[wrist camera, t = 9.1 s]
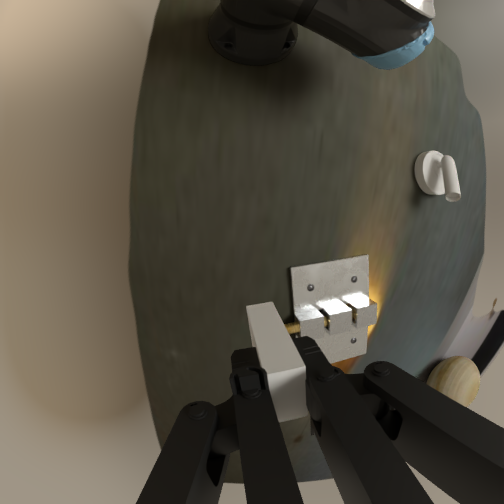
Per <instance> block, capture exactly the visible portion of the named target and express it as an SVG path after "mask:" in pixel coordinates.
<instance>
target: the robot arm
mask: <svg viewBox="0 0 504 504" xmlns="http://www.w3.org/2000/svg"><path fill="white" fill-rule="evenodd" d="M433 2H434V0H221V3H220V4H219V6H218V7H217V9H216V10H215V12H214V13H213V15H212V16H211V18H210V21H209V26H208V35H209V40H210V42H211V44H212V46H213V47H214V49H215V50H216V51H217V52H218V53H219V54H221V55H222V56H224V57H225V58H227V59H229V60H231V61H234V62H237V63H241V64H246V65H266V64H271V63H274V62H277V61H279V60H281V59H283V58H284V57H286V56H287V55H288V54H289V53H290V52H291V50H292V49H293V47H294V45H295V43H296V41H297V37H298V27H297V24H299V25H301V26H303V27H305V28H307V29H309V30H311V31H313V32H315V33H317V34H319V35H321V36H323V37H325V38H327V39H329V40H330V41H332V42H334V43H336V44H338V45H339V46H341V47H343V48H344V49H346V50H348V51H349V52H351V53H352V55H354V56H355V57H357V58H360V59H363V60H364V61H366V62H368V63H369V64H371V65H372V66H374V67H376V68H379V69H385V70H390V69H395V68H398V67H401V66H403V65H405V64H407V63H408V62H410V61H412V60H413V59H414V58H416V57H417V56H418V55H419V54H421V53H422V52H423V51H424V49H425V48H424V46H426V45H428V44H429V43H430V42H431V40H432V38H433V35H434V28H433V25H432V23H431V22H430V21H431V20H432V19H433V18H434V17H435V10H434V5H433ZM246 308H247V315H248V321H249V327H250V333H251V339H252V346H253V347H251V348H245V349H239V350H235V351H234V352H233V354H232V356H231V363H232V373H231V374H230V378H229V380H230V384H231V388H232V392H233V395H232V396H231V398H230V399H228V400H227V401H226V402H224V403H221V404H219V405H216V406H214V405H212V404H211V403H209V402H205V401H196V402H193V403H189V404H188V405H186V406H185V407H183V409H182V410H181V411H180V413H179V415H178V417H177V419H176V421H175V423H174V426H173V428H172V430H171V432H170V434H169V436H168V438H167V440H166V442H165V444H164V446H163V448H162V451H161V453H160V455H159V457H158V459H157V461H156V463H155V465H154V467H153V469H152V471H151V474H150V475H149V478H148V480H147V482H146V484H145V486H144V488H143V490H142V492H141V494H140V496H139V498H138V500H137V502H136V504H218V501H219V497H220V494H221V490H222V486H223V482H224V478H225V474H226V470H227V466H228V462H229V457H230V453H231V452H234V451H236V450H239V449H240V456H241V464H242V472H243V479H244V486H245V493H246V500H247V504H304V503H303V500H302V497H301V493H300V490H299V487H298V484H297V481H296V477H295V474H294V471H293V468H292V465H291V461H290V458H289V455H288V451H287V448H286V445H285V441H284V438H283V435H282V431H281V428H280V425H279V422H283V421H287V420H292V419H296V418H300V417H304V416H308V413H307V408H308V411H309V413H310V415H311V435H314V433H315V435H316V437H317V440H318V442H319V445H320V447H321V449H322V452H323V454H324V456H325V459H326V461H327V464H328V466H329V468H330V471H331V473H332V475H333V478H334V480H335V482H336V485H337V487H338V489H339V492H340V494H341V496H342V499H343V501H344V503H345V504H434V503H433V502H432V500H431V499H430V497H429V496H428V494H427V493H426V491H425V490H424V488H423V487H422V485H421V484H420V483H419V481H418V480H417V478H416V477H415V475H414V474H413V472H412V471H411V469H410V468H409V466H408V465H407V463H408V464H409V465H411V466H412V467H413V468H414V469H416V470H417V471H418V472H419V473H421V474H422V475H423V476H424V477H426V478H427V479H428V480H429V481H431V482H432V483H433V484H435V485H436V486H437V487H438V488H440V489H441V490H442V491H444V492H445V493H447V494H448V495H449V496H450V497H452V498H453V499H455V500H456V501H457V502H459V503H460V504H504V428H502V427H500V426H498V425H496V424H495V423H493V422H491V421H489V420H488V419H486V418H484V417H482V416H481V415H479V414H477V413H475V412H474V411H472V410H470V409H468V408H467V407H465V406H463V405H461V404H460V403H458V402H456V401H454V400H453V399H451V398H449V397H448V396H446V395H444V394H442V393H441V392H439V391H437V390H436V389H434V388H432V387H430V386H429V385H427V384H425V383H424V382H422V381H420V380H419V379H417V378H415V377H414V376H412V375H410V374H409V373H407V372H405V371H404V370H402V369H400V368H399V367H397V366H395V365H394V364H392V363H389V362H385V361H377V362H373V363H371V364H369V365H368V366H366V368H365V370H364V373H361V374H344V372H343V371H342V370H341V369H339V368H337V367H334V366H332V365H331V364H330V362H329V361H328V359H327V358H326V356H325V355H324V353H323V352H322V351H321V349H320V347H318V344H317V343H316V341H315V340H314V339H312V338H310V337H308V336H303V337H299V338H294V339H291V337H290V335H289V333H288V331H287V329H286V327H285V325H284V323H283V321H282V320H281V318H280V316H279V314H278V312H277V310H276V308H275V306H274V304H273V302H267V303H262V304H256V305H250V306H246ZM405 461H406V462H407V463H406V462H405Z"/></svg>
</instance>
